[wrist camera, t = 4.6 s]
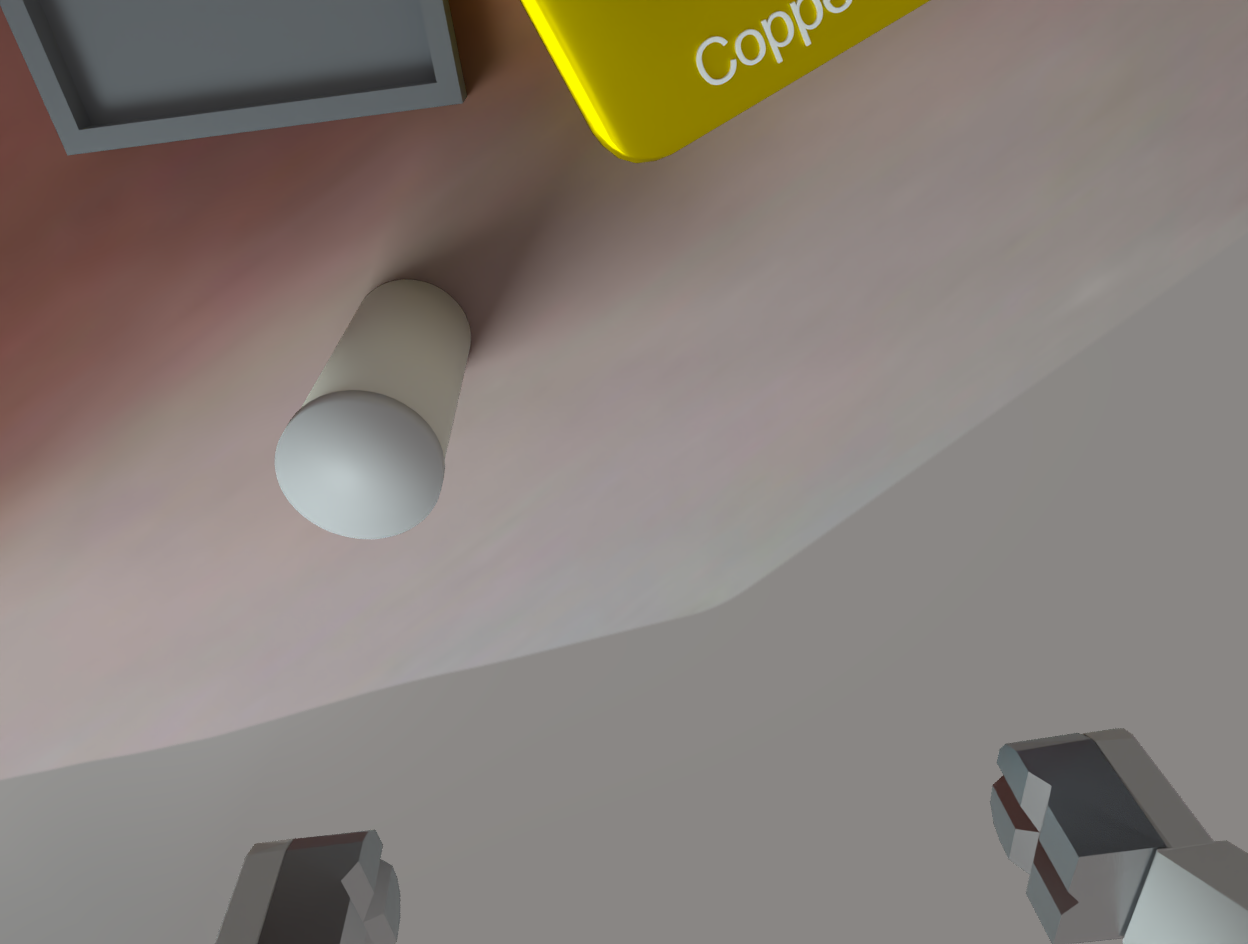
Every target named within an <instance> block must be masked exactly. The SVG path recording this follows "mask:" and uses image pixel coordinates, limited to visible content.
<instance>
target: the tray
mask: <svg viewBox="0 0 1248 944" xmlns="http://www.w3.org/2000/svg"><path fill="white" fill-rule="evenodd" d="M0 5H1V8H2V10H3V12H4V14H5V17H6V19H7V21H8V23H9V26H10V28H11V30H12V32H13V35H14V37H15V39H16V41H17V43H18V46H19V48H20V50H21V52H22V55H23V57H24V59H25V61H26V64H27V66H28V68H29V70H30V72H31V75H32V77H33V79H34V81H35V84H36V86H37V88H38V90H39V93H40V95H41V97H42V99H43V101H44V104H45V106H46V108H47V110H48V113H49V115H50V117H51V119H52V122H53V124H54V126H55V128H56V130H57V133H58V135H59V137H60V139H61V142H62V144H63V146H64V148H65V151H66V153H67V155H74V154H82V153H89V152H97V151H104V150H112V149H120V148H127V147H135V146H142V145H150V144H157V143H165V142H173V141H180V140H188V139H195V138H203V137H211V136H218V135H226V134H233V133H241V132H248V131H256V130H264V129H271V128H279V127H286V126H294V125H302V124H309V123H317V122H324V121H332V120H339V119H347V118H355V117H362V116H370V115H377V114H385V113H393V112H400V111H408V110H415V109H423V108H430V107H438V106H446V105H453V104H461V103H463V102H464V101H465V99H466V98H467V93H466V88H465V83H464V78H463V73H462V68H461V63H460V58H459V53H458V47H457V42H456V37H455V32H454V27H453V22H452V17H451V12H450V6H449V1H448V0H0Z"/></svg>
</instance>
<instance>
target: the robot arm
mask: <svg viewBox="0 0 1248 944" xmlns="http://www.w3.org/2000/svg"><path fill="white" fill-rule="evenodd" d="M997 764H998V766H999V768H1000V769H1001V771H1002V773H1003V776H1002V777H1001V778H1000V779H999V780H998V781H997V782H995V784H993V786H992V793H991V801H990V804H991V810H992V817H993V823H994V826H995V829H996V831H997V834H998V837H999V840H1000V842H1001V844H1002V846H1003V848H1004V851H1005V853H1006V854H1007V856H1008V858H1009V860H1010V861H1011V862H1013V863H1014V864H1016V865H1017V866H1018V867H1020V868H1021V869H1023V870H1024V871H1025V872H1027V873H1028V874H1029V881H1028V886H1027V891H1026V894H1027V896H1028V898H1029V900H1030V902H1031V904H1032V906H1033V908H1034V910H1035V912H1036V914H1037V916H1038V918H1039V920H1040V922H1041V923H1042V926H1043V927H1044V929H1045V931H1046V933H1047V935H1048V937H1049V939H1050V941H1051V943H1052V944H1074V943H1083V942H1093V941H1102V940H1112V939H1121V938H1124V939H1123V943H1124V944H1248V853H1246V852H1245V851H1243V850H1242V849H1240V848H1238V847H1237V846H1235V845H1233V844H1232V843H1230V842H1228V841H1227V840H1226V841H1215V842H1214V841H1213V839H1212V838H1211V837H1210V835H1209V834H1208V833H1207V832H1206V830H1205V829H1204V827H1203V826H1202V825H1201V824H1200V822H1199V821H1198V820H1197V818H1196V817H1195V816H1194V814H1193V813H1192V812H1191V810H1190V809H1189V808H1188V806H1187V805H1186V804H1185V802H1184V801H1183V800H1182V798H1181V797H1180V796H1179V795H1178V793H1177V792H1176V791H1175V789H1174V788H1173V787H1172V786H1171V784H1170V783H1169V782H1168V780H1167V779H1166V777H1165V776H1164V775H1163V774H1162V772H1161V771H1160V770H1159V768H1158V767H1157V766H1156V764H1155V763H1154V762H1153V760H1152V759H1151V758H1150V757H1149V755H1148V754H1147V753H1146V751H1145V750H1144V749H1143V747H1142V746H1141V745H1140V743H1139V742H1138V741H1137V739H1136V738H1135V737H1134V736H1133V734H1131V733H1130V732H1128V731H1126V730H1125V729H1122V728H1120V729H1119V728H1118V729H1109V730H1103V731H1097V732H1090V733H1084V734H1079V733H1074V734H1067V735H1060V736H1054V737H1048V738H1040V739H1034V740H1027V741H1020V742H1014V743H1007V744H1005V745H1004V746H1003V747H1002V748H1001V749H1000V750H999V755H998V759H997ZM382 848H383V844H382V842H381V840H380V838H379V836H378V834H377V832H376V830H367V831H358V832H351V833H341V834H332V835H324V836H316V837H306V838H298V839H296V838H295V839H287V840H280V841H272V842H265V843H257V844H255V845H254V846H253V847H252V849H251V850H250V852H249V853H248V854H247V856H246V857H245V859H244V862H243V865H242V868H241V870H240V873H239V876H238V879H237V882H236V885H235V887H234V890H233V893H232V896H231V899H230V901H229V904H228V907H227V910H226V913H225V916H224V919H223V922H222V924H221V927H220V930H219V933H218V936H217V938H216V941H215V944H395V943H396V942H397V937H398V930H399V923H400V890H399V885H398V879H397V876H396V873H395V871H394V869H393V866H392V865H390V864H388V863H387V862H385V861H383V860H381V859H380V858H381V853H382Z"/></svg>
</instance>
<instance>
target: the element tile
mask: <svg viewBox="0 0 1248 944" xmlns="http://www.w3.org/2000/svg"><path fill="white" fill-rule="evenodd" d="M928 1H930V0H520V2H521V4H522V6H523V7H524V9H525V11H526V13H527V15H528V17H529V18H530V20H531V22H532V24H533V26H534V28H535V29H536V31H537V33H538V35H539V37H540V39H541V40H542V42H543V44H544V46H545V48H546V50H547V51H548V53H549V55H550V57H551V59H552V61H553V62H554V64H555V66H556V68H557V70H558V71H559V73H560V75H561V77H562V79H563V81H564V82H565V84H566V86H567V88H568V90H569V92H570V93H571V95H572V97H573V99H574V101H575V103H576V104H577V106H578V108H579V110H580V112H581V114H582V115H583V117H584V119H585V121H586V123H587V125H588V126H589V128H590V130H591V132H592V133H593V135H594V136H595V137H596V138H597V140H598V141H599V142H600V144H601V145H602V146H603V147H604V148H606V149H607V150H608V151H610V152H611V153H612V154H613V155H615V156H616V157H617V158H619V159H622V160H626V161H629V162H633V163H642V162H650V161H657V160H659V159H661V158H664V157H666V156H669V155H671V154H673V153H675V152H677V151H678V150H680V149H682V148H683V147H685V146H687V145H688V144H690V143H692V142H693V141H695V140H697V139H698V138H700V137H702V136H703V135H705V134H707V133H708V132H710V131H712V130H713V129H715V128H717V127H719V126H720V125H722V124H724V123H725V122H727V121H729V120H730V119H732V118H734V117H735V116H737V115H739V114H740V113H742V112H744V111H745V110H747V109H749V108H750V107H752V106H754V105H755V104H757V103H759V102H760V101H762V100H764V99H766V98H767V97H769V96H771V95H772V94H774V93H776V92H777V91H779V90H781V89H782V88H784V87H786V86H787V85H789V84H791V83H792V82H794V81H796V80H797V79H799V78H801V77H802V76H804V75H806V74H808V73H809V72H811V71H813V70H814V69H816V68H818V67H819V66H821V65H823V64H824V63H826V62H828V61H829V60H831V59H833V58H834V57H836V56H838V55H839V54H841V53H843V52H844V51H846V50H848V49H849V48H851V47H853V46H855V45H856V44H858V43H860V42H861V41H863V40H865V39H866V38H868V37H870V36H871V35H873V34H875V33H876V32H878V31H880V30H881V29H883V28H885V27H886V26H888V25H890V24H891V23H893V22H895V21H896V20H898V19H900V18H902V17H903V16H905V15H907V14H908V13H910V12H912V11H913V10H915V9H917V8H918V7H920V6H922V5H923V4H925V3H927V2H928Z"/></svg>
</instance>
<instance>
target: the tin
mask: <svg viewBox="0 0 1248 944" xmlns="http://www.w3.org/2000/svg"><path fill="white" fill-rule="evenodd" d="M470 345H471V332H470V326H469V323H468V320H467V318H466V315H465V313H464V312H463V310H462V308H461V307H460V306H459V304H458V303H457V302H456V301H455V300H454V299H453V298H452V297H451V296H450V295H449V294H447V293H446V292H445V291H443V290H442V289H440V288H438V287H436V286H434V285H432V284H430V283H426V282H423V281H418V280H410V279H404V280H395V281H391V282H388V283H385V284H383V285H381V286H379V287H377V288H376V289H374V290H373V291H371V292H370V293H369V294H368V295H367V296H366V297H365V299H364V300H363V301H362V303H361V305H360V306H359V308H358V310H357V312H356V313H355V315H354V317H353V319H352V320H351V322H350V324H349V326H348V327H347V329H346V331H345V332H344V334H343V336H342V338H341V339H340V341H339V343H338V345H337V346H336V348H335V350H334V352H333V353H332V355H331V357H330V359H329V360H328V362H327V364H326V366H325V367H324V369H323V371H322V373H321V374H320V376H319V378H318V379H317V381H316V383H315V385H314V386H313V388H312V390H311V392H310V393H309V395H308V397H307V399H306V400H305V402H304V404H303V406H302V407H301V409H300V410H299V411H297V412H296V414H295V415H294V416H293V417H292V419H291V420H290V422H289V423H288V425H287V427H286V429H285V430H284V432H283V434H282V436H281V438H280V439H279V442H278V445H277V448H276V453H275V470H276V476H277V479H278V482H279V485H280V487H281V489H282V491H283V493H284V495H285V496H286V498H287V499H288V501H289V502H290V503H291V504H292V506H293V507H294V508H295V509H296V510H297V511H298V512H299V513H300V514H301V515H303V516H304V517H305V518H307V519H308V520H309V521H311V522H312V523H314V524H315V525H317V526H319V527H321V528H323V529H325V530H327V531H329V532H332V533H335V534H338V535H341V536H346V537H350V538H358V539H380V538H386V537H391V536H395V535H398V534H401V533H403V532H405V531H408V530H410V529H411V528H413V527H415V526H416V525H418V524H419V523H420V522H421V521H423V520H424V519H425V518H426V517H427V516H428V514H429V513H430V512H431V511H432V509H433V508H434V506H435V504H436V502H437V500H438V498H439V494H440V491H441V487H442V482H443V478H444V470H445V462H444V460H445V456H446V452H447V447H448V443H449V438H450V434H451V430H452V425H453V421H454V416H455V412H456V408H457V403H458V399H459V395H460V390H461V386H462V381H463V377H464V373H465V368H466V364H467V359H468V355H469V351H470Z"/></svg>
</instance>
